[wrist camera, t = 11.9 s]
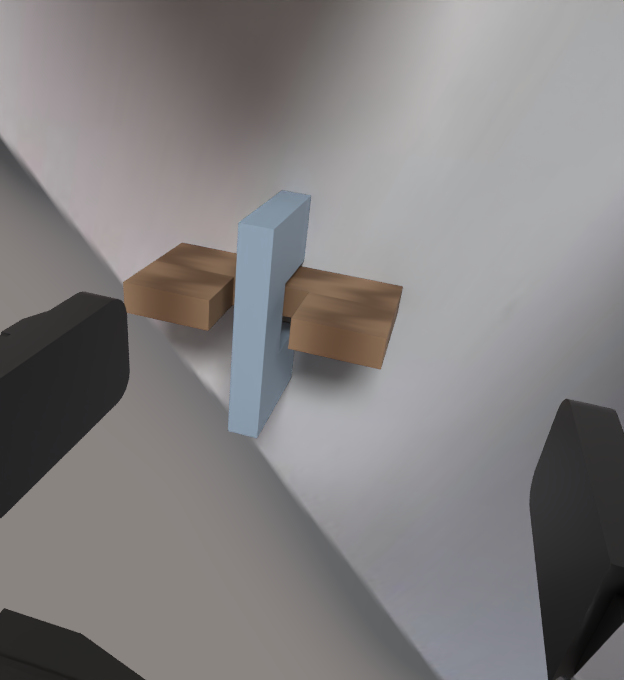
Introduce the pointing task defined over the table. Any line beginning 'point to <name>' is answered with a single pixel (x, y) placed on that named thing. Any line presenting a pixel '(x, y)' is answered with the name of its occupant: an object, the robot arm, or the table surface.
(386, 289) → the walnut plate
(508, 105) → the table surface
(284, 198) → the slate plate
